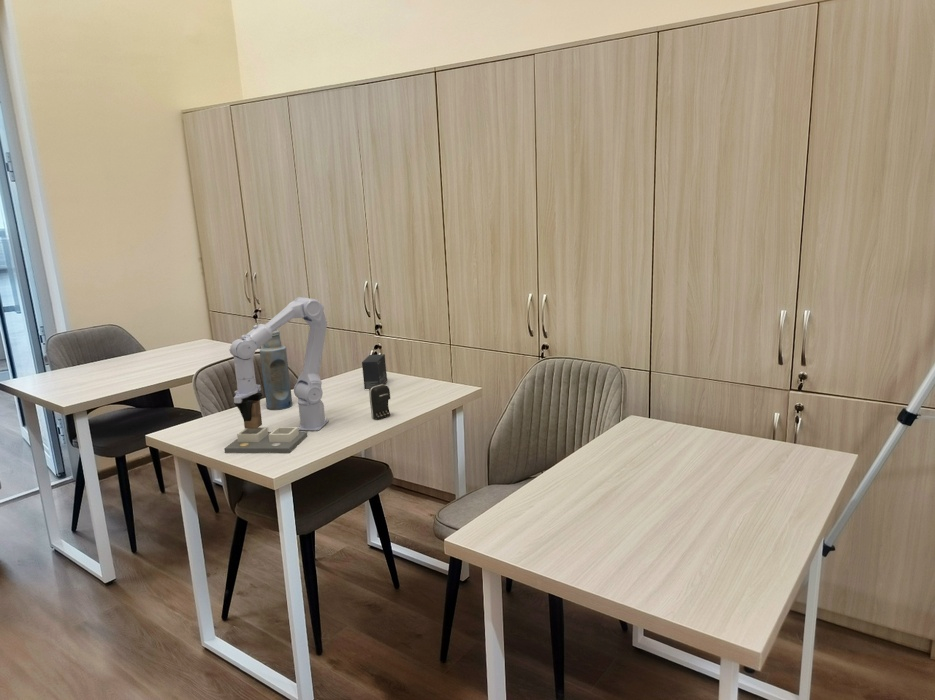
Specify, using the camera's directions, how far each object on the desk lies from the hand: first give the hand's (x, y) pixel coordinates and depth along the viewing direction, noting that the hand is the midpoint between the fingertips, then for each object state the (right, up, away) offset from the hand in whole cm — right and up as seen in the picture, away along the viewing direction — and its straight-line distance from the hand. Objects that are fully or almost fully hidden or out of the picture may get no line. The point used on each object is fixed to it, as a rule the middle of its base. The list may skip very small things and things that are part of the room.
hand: (250, 418), depth 210 cm
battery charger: (+39, -2, +21) cm, 44 cm away
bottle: (-2, 0, +41) cm, 41 cm away
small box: (+31, +7, +63) cm, 71 cm away
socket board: (+5, -8, 0) cm, 10 cm away
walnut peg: (+1, -3, 0) cm, 3 cm away
